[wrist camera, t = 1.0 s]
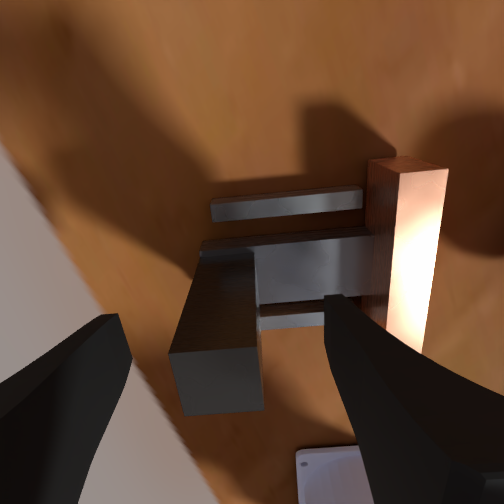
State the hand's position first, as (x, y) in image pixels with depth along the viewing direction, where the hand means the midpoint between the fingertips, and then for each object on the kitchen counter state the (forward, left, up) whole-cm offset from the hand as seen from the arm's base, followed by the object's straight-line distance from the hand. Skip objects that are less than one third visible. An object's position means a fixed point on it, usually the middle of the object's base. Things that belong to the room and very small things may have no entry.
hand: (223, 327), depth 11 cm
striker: (0, -3, -5) cm, 6 cm away
